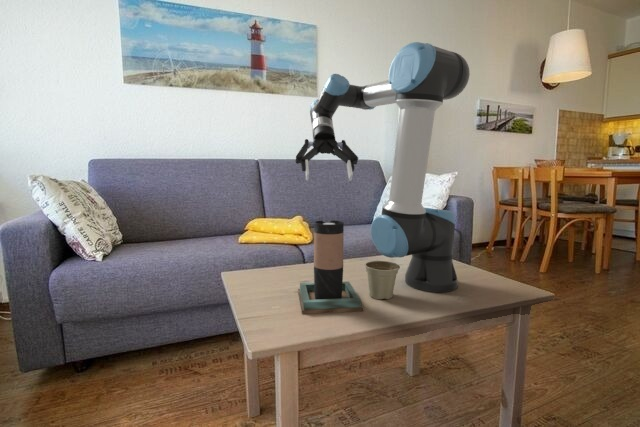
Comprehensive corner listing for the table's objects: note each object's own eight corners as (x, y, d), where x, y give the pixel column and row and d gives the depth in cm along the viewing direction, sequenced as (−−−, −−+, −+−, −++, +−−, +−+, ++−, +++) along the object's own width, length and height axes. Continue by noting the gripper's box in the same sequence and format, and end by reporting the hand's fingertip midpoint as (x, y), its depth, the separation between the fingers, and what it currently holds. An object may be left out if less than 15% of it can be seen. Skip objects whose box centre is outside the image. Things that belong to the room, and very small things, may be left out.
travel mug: (331, 305, 84) (332, 225, 81) (307, 298, 88) (307, 222, 85) (348, 296, 90) (349, 222, 87) (325, 290, 94) (325, 219, 92)
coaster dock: (350, 289, 97) (350, 280, 97) (363, 311, 82) (363, 300, 82) (297, 291, 95) (297, 282, 95) (301, 313, 81) (301, 303, 80)
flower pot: (398, 291, 96) (399, 261, 95) (398, 303, 87) (400, 271, 86) (365, 288, 98) (366, 259, 97) (362, 300, 89) (363, 268, 88)
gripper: (356, 142, 122) (366, 185, 109) (287, 140, 119) (288, 185, 106) (360, 125, 116) (371, 169, 103) (287, 123, 113) (289, 168, 100)
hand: (329, 177), depth 105 cm, fingers open, 13 cm apart
